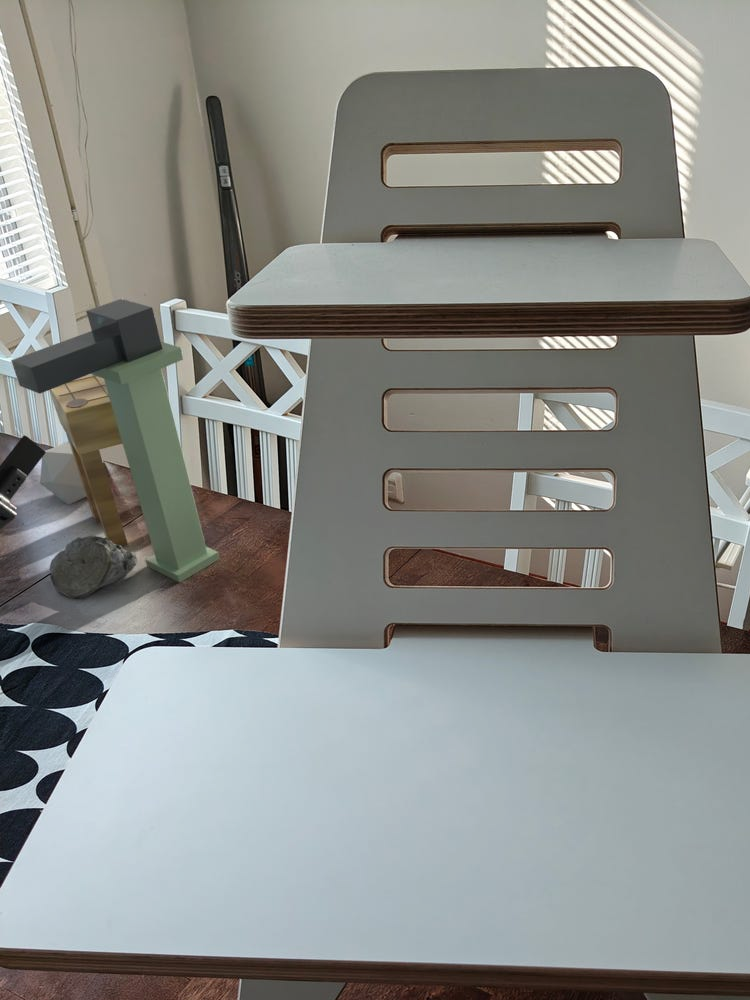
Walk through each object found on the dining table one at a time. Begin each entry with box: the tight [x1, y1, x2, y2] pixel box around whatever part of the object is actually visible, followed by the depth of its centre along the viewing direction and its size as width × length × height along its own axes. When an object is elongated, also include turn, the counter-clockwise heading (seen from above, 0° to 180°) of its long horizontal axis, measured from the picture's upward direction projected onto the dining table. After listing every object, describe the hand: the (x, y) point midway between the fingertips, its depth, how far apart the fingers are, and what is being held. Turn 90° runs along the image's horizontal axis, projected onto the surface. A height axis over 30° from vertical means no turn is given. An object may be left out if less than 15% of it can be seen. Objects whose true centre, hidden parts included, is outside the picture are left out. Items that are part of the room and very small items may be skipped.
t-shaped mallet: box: [10, 298, 162, 394], centre depth 112 cm, size 16×6×5 cm, turn 142°
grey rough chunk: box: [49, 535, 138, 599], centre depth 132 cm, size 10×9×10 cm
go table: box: [48, 374, 129, 547], centre depth 138 cm, size 12×12×21 cm
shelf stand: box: [91, 341, 220, 584], centre depth 126 cm, size 9×9×30 cm
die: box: [39, 441, 104, 505], centre depth 149 cm, size 8×9×10 cm
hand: (0, 427), depth 107 cm, fingers open, 13 cm apart
